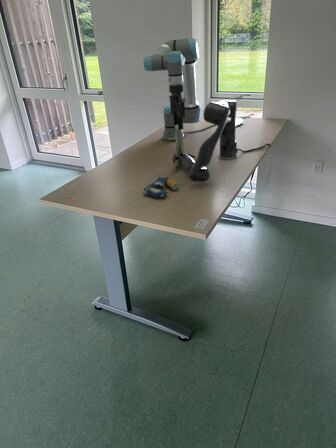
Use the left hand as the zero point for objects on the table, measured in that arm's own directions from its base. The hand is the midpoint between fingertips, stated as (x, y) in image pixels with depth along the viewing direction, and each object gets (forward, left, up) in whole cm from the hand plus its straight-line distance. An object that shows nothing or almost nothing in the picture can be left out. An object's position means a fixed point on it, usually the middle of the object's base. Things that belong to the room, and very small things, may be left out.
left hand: (178, 128), depth 189 cm
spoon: (-73, -42, -22) cm, 88 cm away
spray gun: (+25, +24, -22) cm, 41 cm away
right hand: (0, -3, -16) cm, 17 cm away
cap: (0, 0, +1) cm, 1 cm away
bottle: (0, 0, -22) cm, 22 cm away
